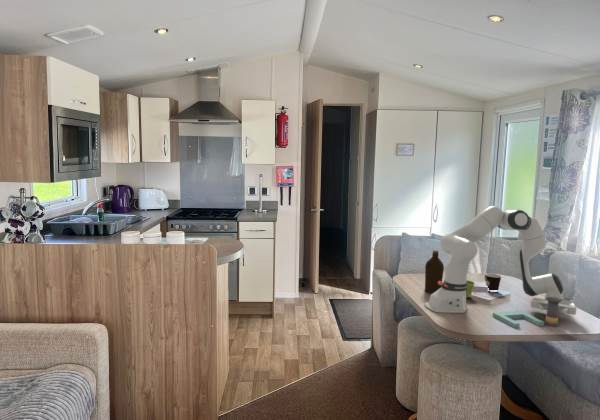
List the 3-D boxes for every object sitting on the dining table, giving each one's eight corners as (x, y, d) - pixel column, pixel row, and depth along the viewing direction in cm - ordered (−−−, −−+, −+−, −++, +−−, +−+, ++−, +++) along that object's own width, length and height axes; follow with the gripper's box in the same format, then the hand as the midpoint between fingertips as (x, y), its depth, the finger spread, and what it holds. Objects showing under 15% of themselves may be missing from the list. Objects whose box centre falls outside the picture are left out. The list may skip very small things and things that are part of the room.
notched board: (514, 327, 221) (514, 323, 221) (492, 316, 237) (492, 312, 236) (543, 325, 225) (543, 321, 225) (520, 314, 241) (520, 310, 241)
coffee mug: (501, 294, 276) (502, 277, 275) (486, 292, 278) (487, 276, 276) (497, 288, 287) (498, 273, 286) (482, 287, 289) (483, 272, 288)
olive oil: (440, 295, 270) (443, 253, 267) (422, 292, 274) (424, 251, 271) (443, 290, 279) (446, 250, 276) (425, 287, 284) (428, 248, 281)
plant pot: (471, 300, 262) (473, 285, 261) (454, 297, 267) (456, 282, 266) (475, 296, 270) (476, 281, 269) (458, 293, 275) (459, 279, 274)
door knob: (550, 326, 224) (553, 301, 222) (541, 322, 230) (543, 297, 228) (561, 326, 225) (564, 300, 224) (551, 321, 232) (554, 296, 230)
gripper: (531, 293, 243) (529, 300, 231) (576, 300, 233) (576, 308, 221) (530, 305, 244) (528, 312, 232) (575, 312, 234) (575, 320, 222)
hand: (552, 310), depth 226 cm, fingers open, 8 cm apart
